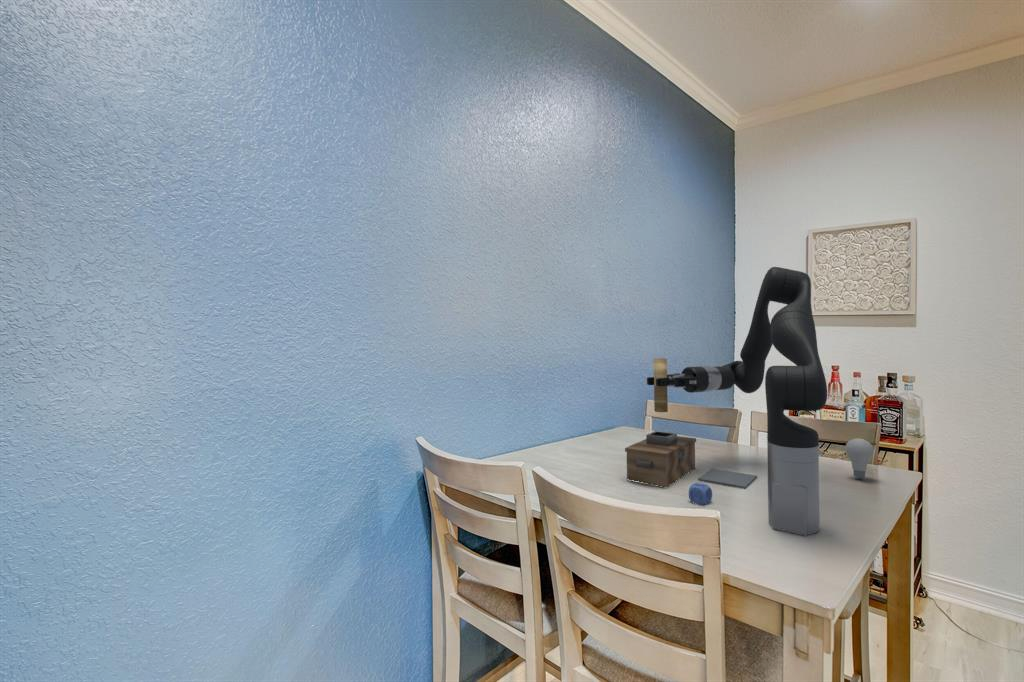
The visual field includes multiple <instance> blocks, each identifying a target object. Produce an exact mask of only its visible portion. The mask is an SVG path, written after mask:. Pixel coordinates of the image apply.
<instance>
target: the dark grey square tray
mask: <svg viewBox="0 0 1024 682" xmlns="http://www.w3.org/2000/svg"><path fill="white" fill-rule="evenodd" d="M677 436H678V433H676V432H675V433H673V432H667V431H658V430H655V431H652V432H650V433H647V434H646V435H645V437H646V438H645V439H646V444H653V445H660V446H667V447H669V446H671V445H673V444H675V443H677Z"/></svg>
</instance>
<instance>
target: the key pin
mask: <svg viewBox="0 0 1024 682" xmlns="http://www.w3.org/2000/svg"><path fill="white" fill-rule="evenodd" d="M667 374H668V359H667V358H661V357H660V358H653V377H654V385H653V396H654V397H653V402H654V405H653V407H654V410H653V411H654V412H656V413H668V410H669V409H668V405H669V404H668V403H669V401H668V386H656V379H657V378H667Z"/></svg>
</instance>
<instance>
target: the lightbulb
mask: <svg viewBox="0 0 1024 682" xmlns="http://www.w3.org/2000/svg"><path fill="white" fill-rule="evenodd" d="M844 450H845V453H846V454H847V457H848V458H849V460H850V462H851V467H852V470H853V476H854V477H855V478H856V479H857V480H863V479H865V478H866V471H867V467H868V464H869V461H870V460H871V459H872V457H873V455H874V447H873V445H872V444H871V443H870V442H869V441H867V440H866V439H863V438H859V437H858V438H857V437H855V438H852V439H849V441H848V442H847V443H846V444H845V449H844Z"/></svg>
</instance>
